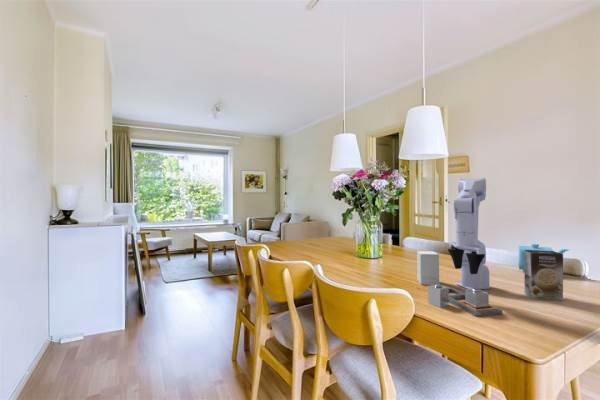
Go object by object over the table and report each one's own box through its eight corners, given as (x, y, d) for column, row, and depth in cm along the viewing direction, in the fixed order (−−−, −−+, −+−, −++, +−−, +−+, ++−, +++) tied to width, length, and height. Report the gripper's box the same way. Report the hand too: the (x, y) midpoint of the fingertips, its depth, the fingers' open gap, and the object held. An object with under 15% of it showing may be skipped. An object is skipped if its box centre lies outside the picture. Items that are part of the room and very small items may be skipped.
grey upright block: (436, 300, 102) (436, 282, 102) (448, 304, 98) (448, 285, 98) (428, 303, 100) (427, 284, 100) (440, 307, 96) (439, 287, 96)
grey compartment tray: (451, 290, 112) (451, 286, 112) (502, 313, 90) (502, 309, 90) (430, 292, 111) (430, 288, 111) (476, 316, 88) (475, 311, 88)
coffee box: (531, 299, 102) (530, 252, 101) (523, 293, 108) (523, 249, 108) (564, 301, 99) (563, 254, 98) (554, 295, 105) (554, 250, 105)
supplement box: (439, 285, 119) (439, 254, 119) (420, 284, 120) (419, 254, 120) (435, 280, 126) (434, 251, 126) (417, 279, 128) (416, 250, 128)
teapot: (519, 273, 134) (519, 245, 133) (518, 266, 146) (518, 240, 146) (573, 279, 123) (572, 248, 123) (566, 271, 136) (566, 243, 136)
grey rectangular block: (477, 306, 96) (477, 287, 96) (488, 312, 92) (488, 291, 91) (465, 307, 95) (465, 288, 95) (475, 313, 91) (475, 292, 91)
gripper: (441, 230, 109) (442, 266, 109) (470, 235, 95) (470, 277, 95) (458, 229, 110) (459, 265, 110) (489, 234, 96) (490, 275, 96)
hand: (465, 271), depth 103 cm, fingers open, 7 cm apart
